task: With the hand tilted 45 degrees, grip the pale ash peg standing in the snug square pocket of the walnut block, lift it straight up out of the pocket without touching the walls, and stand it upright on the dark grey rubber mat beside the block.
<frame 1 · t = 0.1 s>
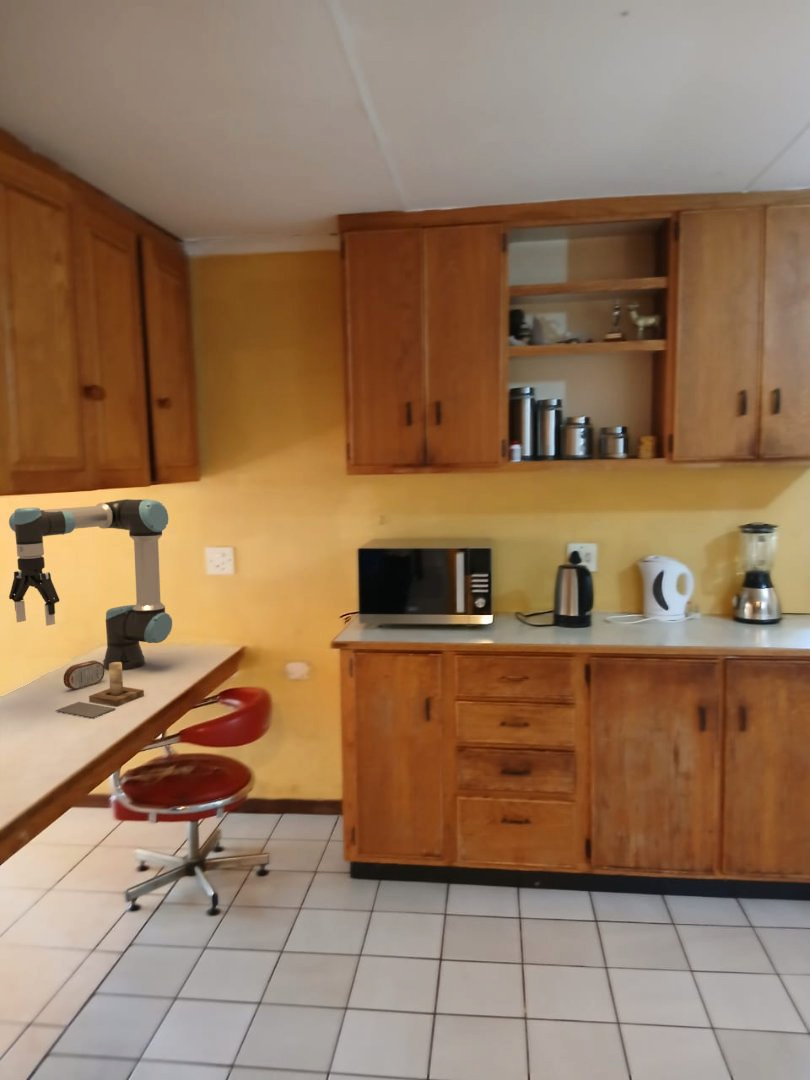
hand: (35, 623, 232), 28 cm above the counter, tool pointing down, fingers open, 13 cm apart
slot block: (117, 698, 244), on the counter
mat: (85, 710, 232), on the counter
tin: (85, 686, 258), on the counter
peg: (116, 681, 243), in the slot block
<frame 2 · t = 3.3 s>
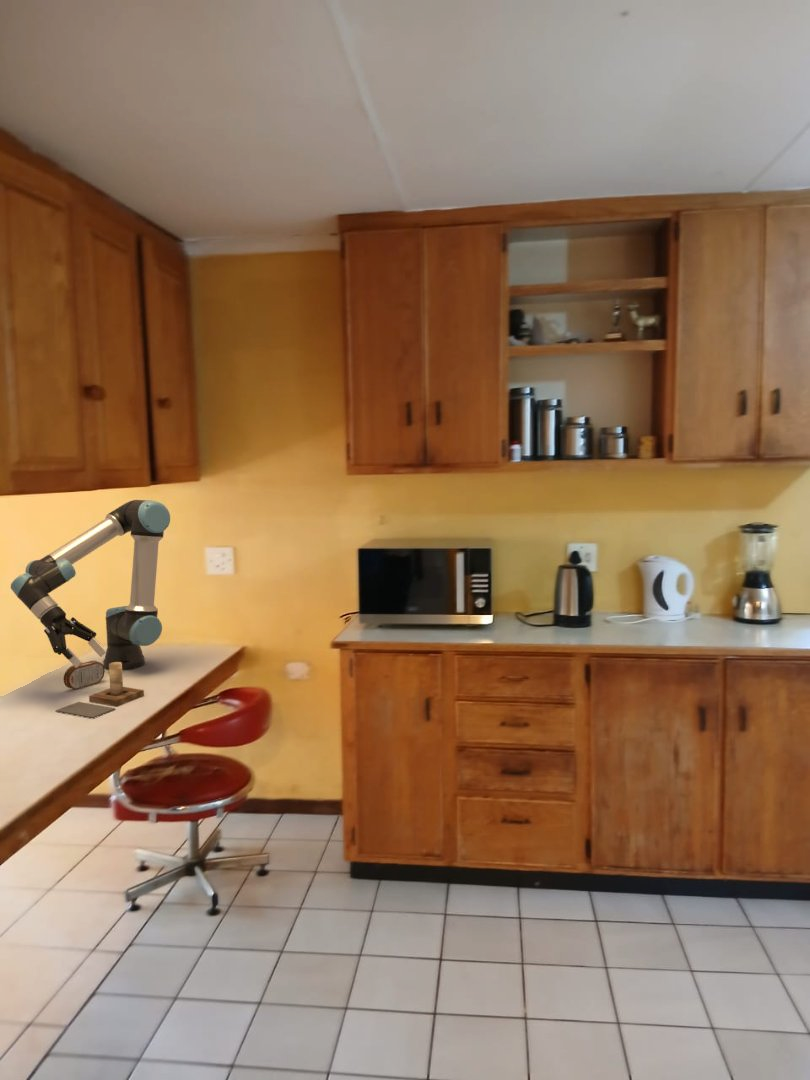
hand: (91, 659, 243), 13 cm above the counter, tool tilted 45°, fingers open, 13 cm apart
nothing on the counter moved.
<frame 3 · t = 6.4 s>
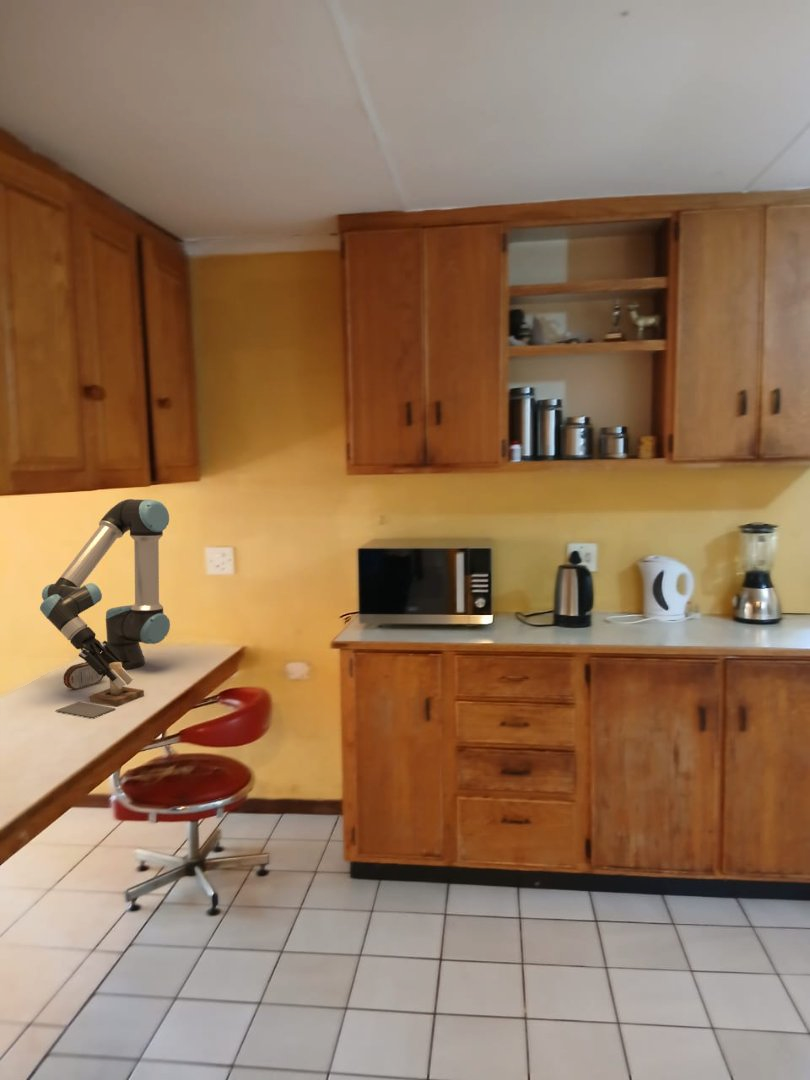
hand: (126, 684, 243), 5 cm above the counter, tool tilted 45°, fingers closed on peg, 4 cm apart
peg: (116, 681, 243), in the slot block, touching gripper
everything else where it was.
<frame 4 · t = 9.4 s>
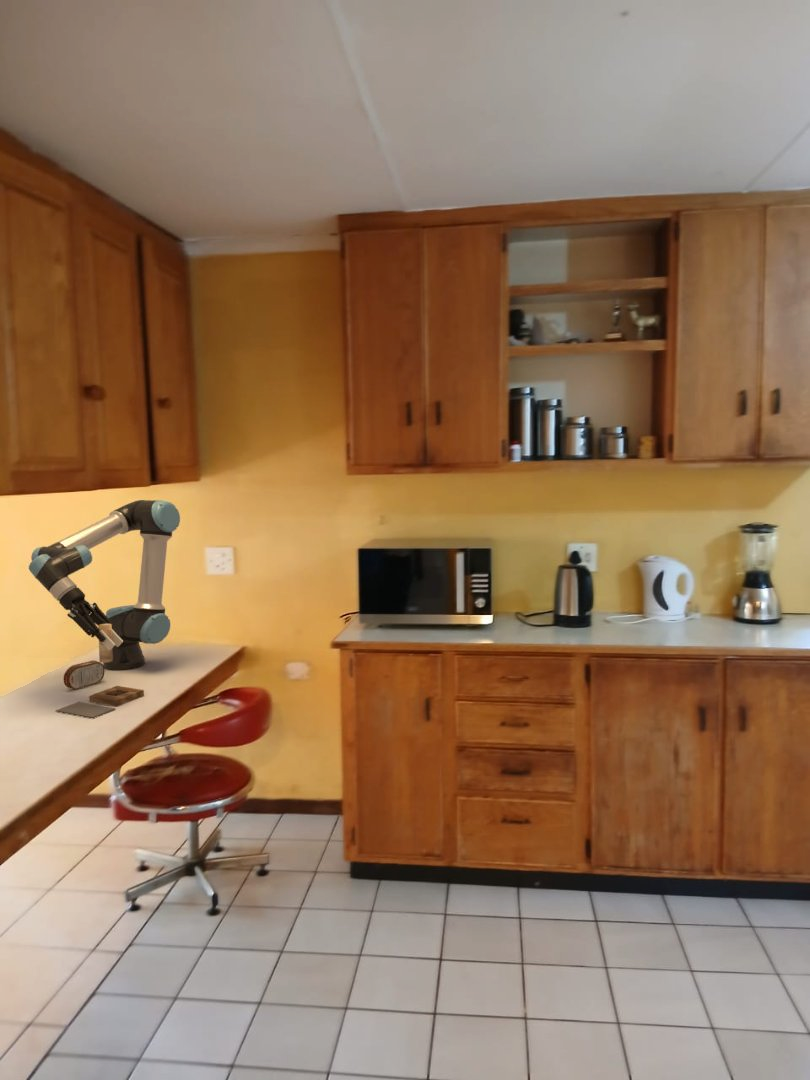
hand: (116, 645, 238), 19 cm above the counter, tool tilted 45°, fingers closed on peg, 4 cm apart
peg: (105, 643, 239), point 20 cm above the counter, touching gripper
everything else where it was.
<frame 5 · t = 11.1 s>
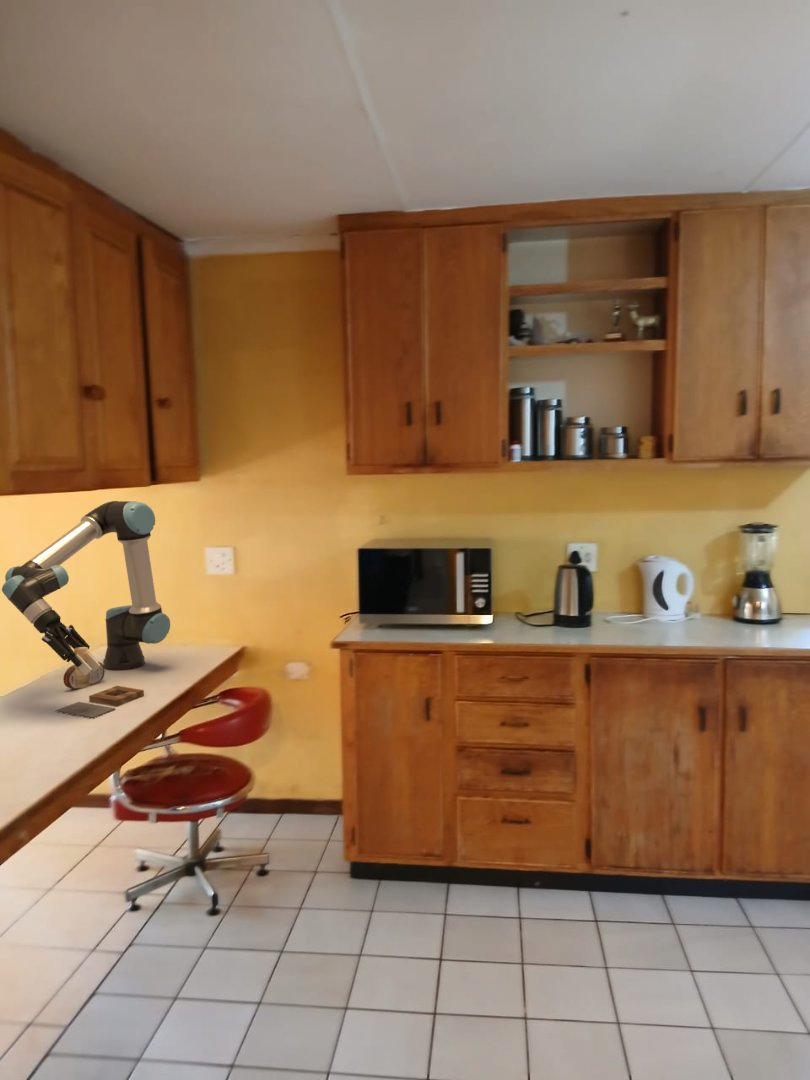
hand: (93, 670, 230), 13 cm above the counter, tool tilted 45°, fingers closed on peg, 4 cm apart
peg: (81, 667, 230), point 14 cm above the counter, touching gripper
everything else where it was.
when the fingers open (7 cm above the counter, at t = 12.4 s): peg drops 1 cm, resting on mat.
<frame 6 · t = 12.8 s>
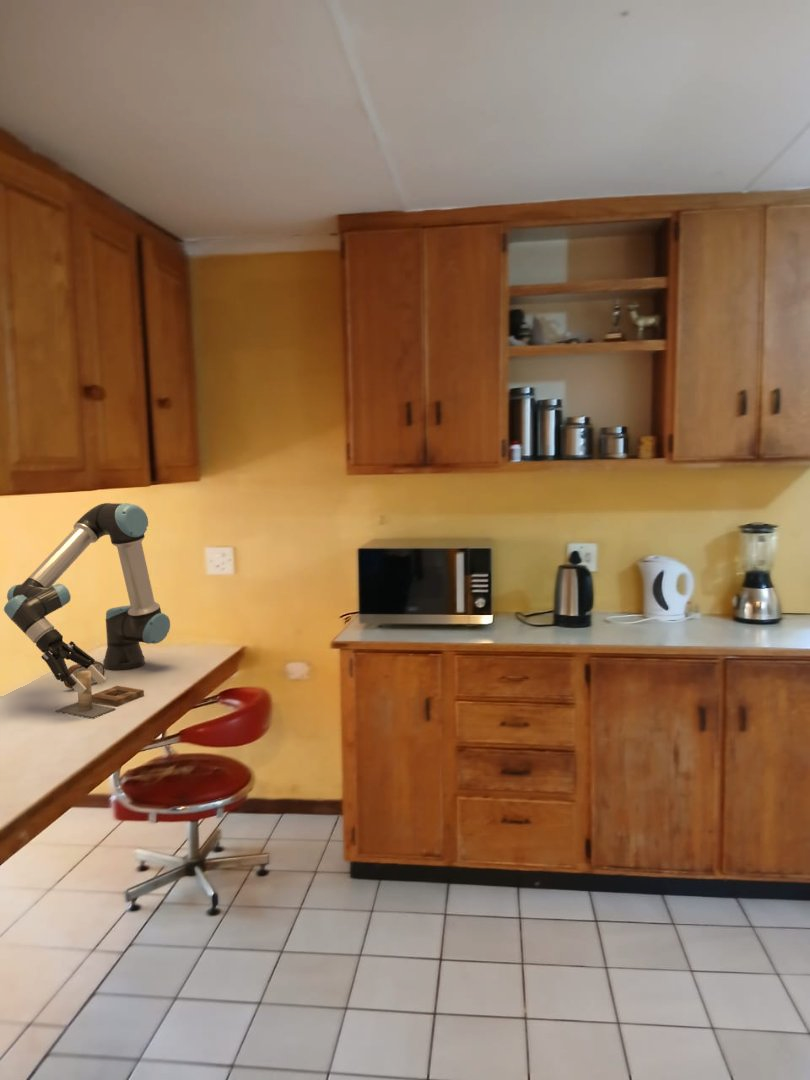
hand: (93, 686, 231), 8 cm above the counter, tool tilted 45°, fingers open, 10 cm apart
peg: (84, 690, 232), on the mat
everything else where it was.
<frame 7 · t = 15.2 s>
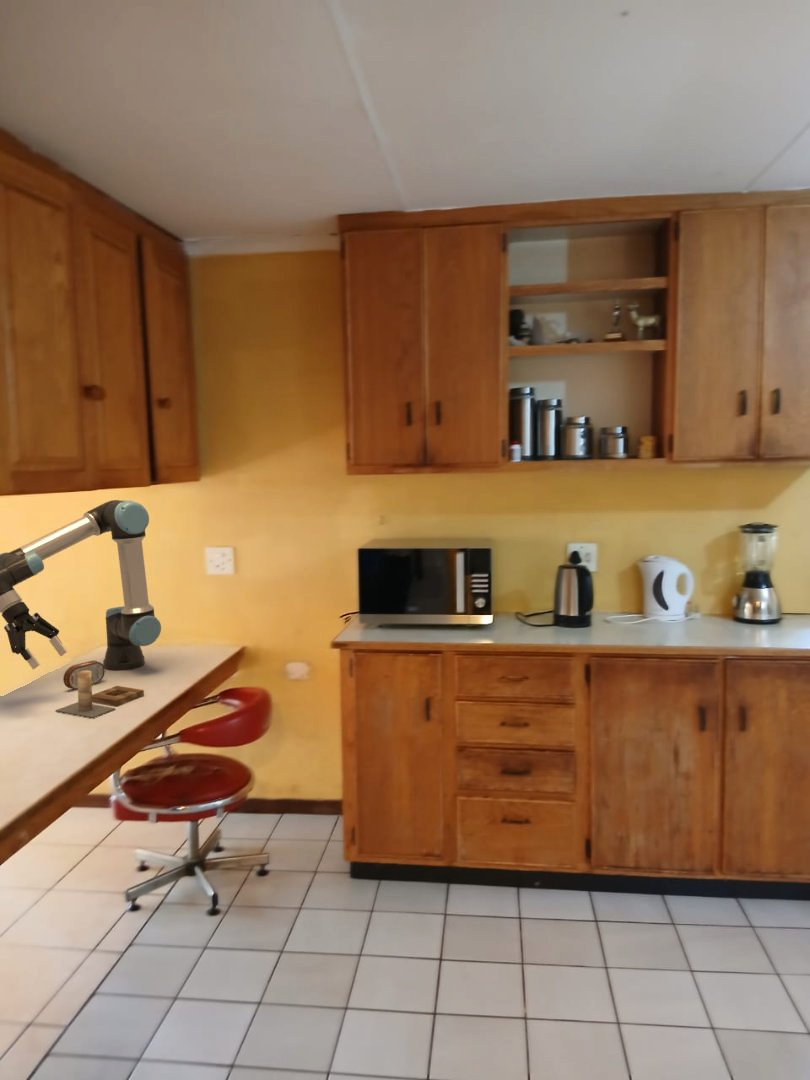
hand: (50, 660, 237), 15 cm above the counter, tool tilted 35°, fingers open, 13 cm apart
nothing on the counter moved.
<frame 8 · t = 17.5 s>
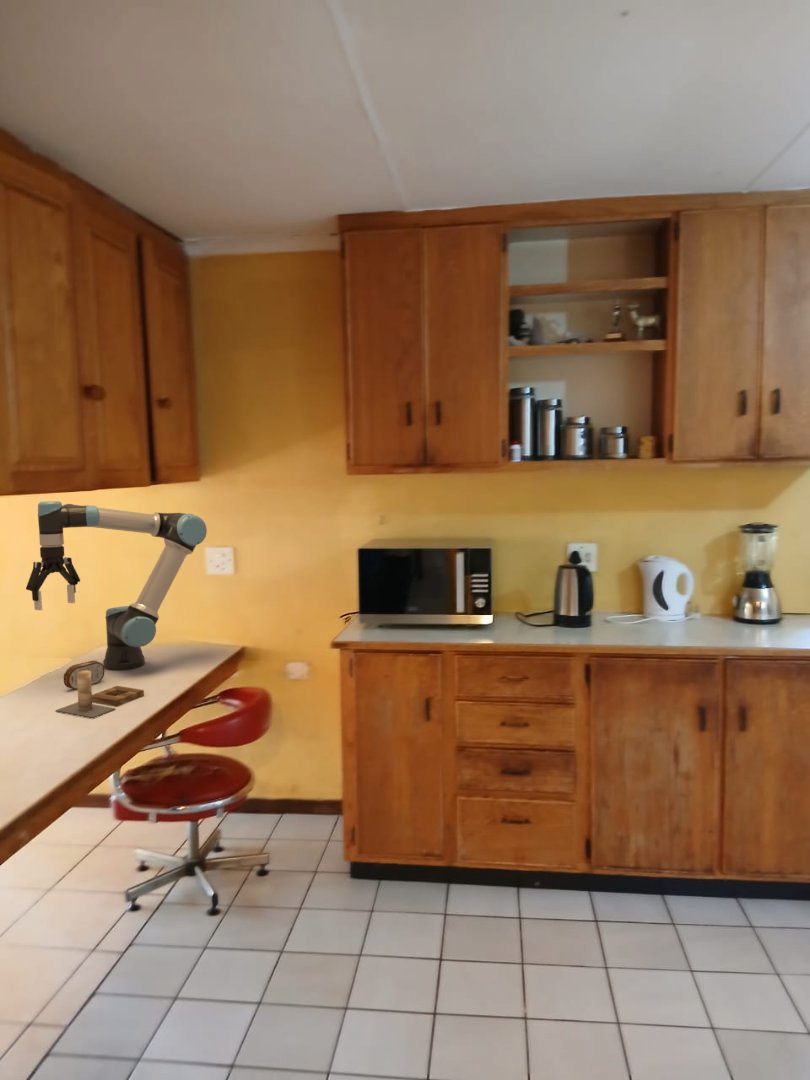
hand: (55, 606, 255), 29 cm above the counter, tool pointing down, fingers open, 13 cm apart
nothing on the counter moved.
at the end: peg inside the target area on the mat (0.0 cm from its centre), point 6.6 cm above the mat's base; peg tilted 2°; the gripper is holding nothing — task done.
